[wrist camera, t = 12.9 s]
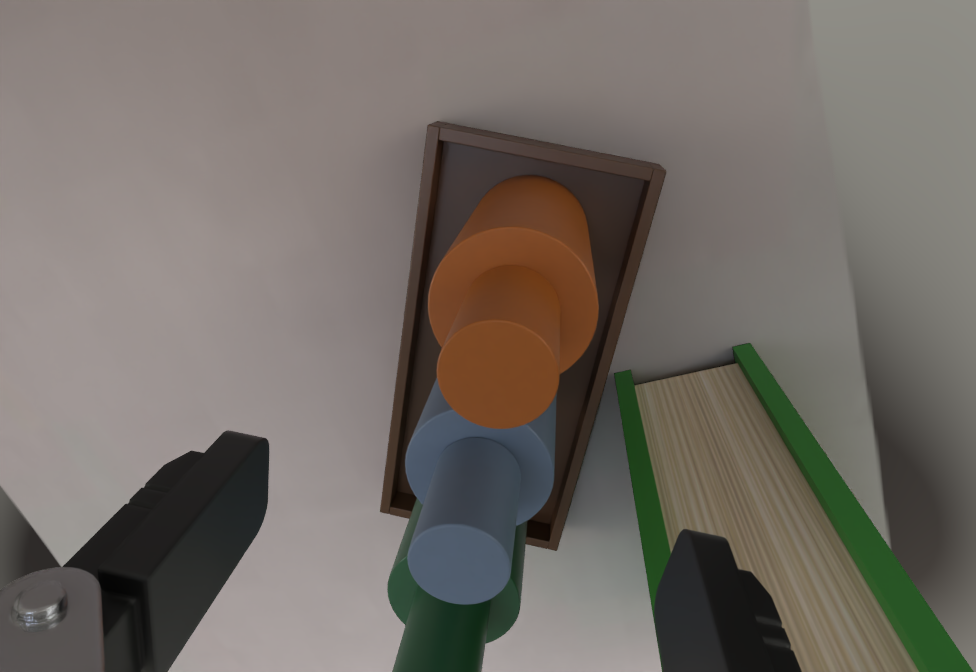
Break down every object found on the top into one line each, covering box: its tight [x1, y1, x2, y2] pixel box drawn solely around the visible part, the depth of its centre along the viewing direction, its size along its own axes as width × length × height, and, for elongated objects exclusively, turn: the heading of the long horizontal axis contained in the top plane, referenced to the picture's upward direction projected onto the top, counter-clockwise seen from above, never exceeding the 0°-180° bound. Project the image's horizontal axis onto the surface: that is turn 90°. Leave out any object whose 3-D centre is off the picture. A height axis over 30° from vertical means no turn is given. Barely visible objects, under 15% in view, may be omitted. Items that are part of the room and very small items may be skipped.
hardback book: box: [614, 343, 973, 672], centre depth 26 cm, size 18×7×24 cm, turn 18°
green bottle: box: [388, 499, 527, 672], centre depth 30 cm, size 6×6×16 cm
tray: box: [380, 121, 666, 551], centre depth 34 cm, size 11×23×2 cm, turn 170°
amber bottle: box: [428, 175, 599, 429], centre depth 24 cm, size 6×6×16 cm
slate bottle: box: [405, 378, 557, 605], centre depth 27 cm, size 6×6×16 cm
